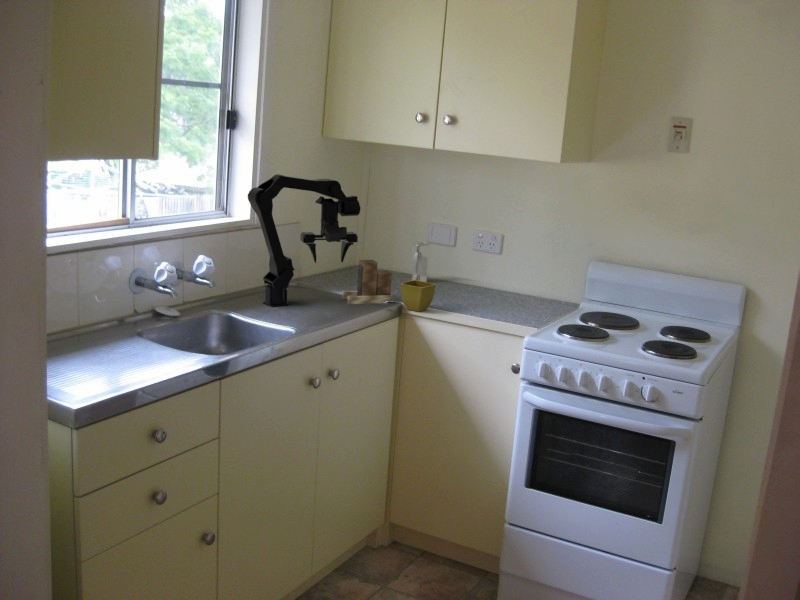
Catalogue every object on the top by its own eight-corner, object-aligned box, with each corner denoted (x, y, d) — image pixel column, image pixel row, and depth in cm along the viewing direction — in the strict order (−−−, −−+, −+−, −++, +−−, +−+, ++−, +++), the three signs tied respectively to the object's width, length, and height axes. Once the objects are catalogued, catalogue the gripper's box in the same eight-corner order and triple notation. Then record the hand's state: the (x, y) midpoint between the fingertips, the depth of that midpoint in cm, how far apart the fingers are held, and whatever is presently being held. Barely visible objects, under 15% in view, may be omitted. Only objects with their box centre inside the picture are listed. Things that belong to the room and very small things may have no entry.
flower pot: (435, 309, 300) (436, 283, 298) (420, 314, 293) (422, 287, 291) (413, 305, 304) (414, 279, 302) (398, 309, 297) (400, 283, 295)
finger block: (360, 303, 304) (362, 262, 301) (356, 299, 309) (358, 259, 306) (375, 302, 306) (377, 262, 303) (371, 299, 311) (372, 259, 307)
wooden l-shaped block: (348, 304, 302) (349, 275, 299) (342, 298, 310) (343, 269, 308) (393, 303, 306) (394, 274, 304) (386, 297, 315) (387, 269, 312)
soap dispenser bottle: (431, 281, 345) (433, 243, 341) (422, 284, 339) (424, 245, 335) (416, 279, 348) (418, 241, 345) (406, 281, 342) (408, 243, 339)
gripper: (307, 220, 289) (306, 267, 293) (362, 220, 295) (361, 266, 298) (300, 215, 300) (299, 261, 303) (354, 215, 305) (352, 260, 309)
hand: (328, 262), depth 303 cm, fingers open, 9 cm apart
